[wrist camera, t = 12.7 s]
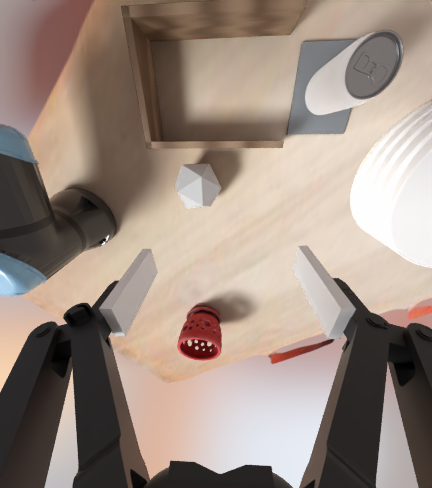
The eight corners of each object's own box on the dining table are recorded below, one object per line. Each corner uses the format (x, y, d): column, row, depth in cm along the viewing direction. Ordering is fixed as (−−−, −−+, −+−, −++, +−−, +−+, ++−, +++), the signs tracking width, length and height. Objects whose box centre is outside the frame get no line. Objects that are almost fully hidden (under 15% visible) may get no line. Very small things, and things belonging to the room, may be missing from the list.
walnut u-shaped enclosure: (159, 147, 36) (146, 148, 31) (142, 32, 28) (120, 6, 23) (274, 146, 35) (282, 147, 29) (291, 24, 27) (307, -6, 21)
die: (209, 151, 37) (169, 154, 30) (236, 182, 35) (200, 192, 29) (195, 183, 43) (159, 191, 37) (218, 210, 42) (184, 223, 35)
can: (325, 123, 32) (370, 115, 22) (295, 104, 31) (328, 86, 21) (354, 79, 29) (423, 45, 18) (322, 56, 28) (376, 7, 17)
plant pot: (178, 309, 61) (167, 343, 51) (211, 298, 58) (207, 333, 47) (197, 330, 67) (191, 365, 57) (229, 322, 63) (228, 358, 53)
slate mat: (286, 134, 34) (287, 134, 33) (301, 43, 28) (303, 41, 27) (341, 133, 33) (343, 133, 33) (369, 40, 27) (372, 38, 26)
